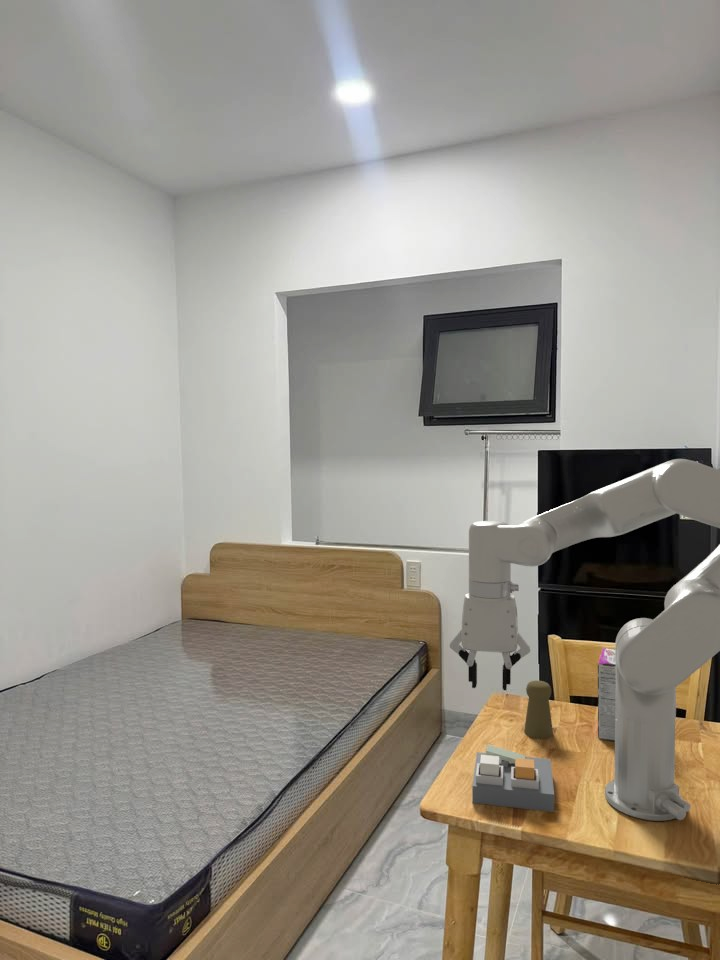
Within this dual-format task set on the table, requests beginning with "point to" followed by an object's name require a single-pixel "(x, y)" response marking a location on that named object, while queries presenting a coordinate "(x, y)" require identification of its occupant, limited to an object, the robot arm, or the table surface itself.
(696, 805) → the table surface
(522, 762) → the orange button
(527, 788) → the switch panel
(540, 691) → the cork
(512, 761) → the block
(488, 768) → the cream button
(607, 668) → the candy bar box
